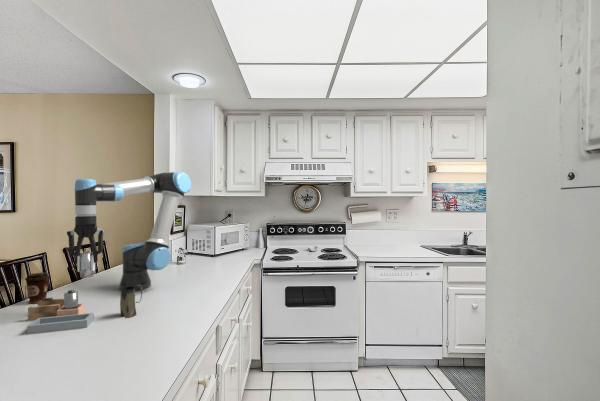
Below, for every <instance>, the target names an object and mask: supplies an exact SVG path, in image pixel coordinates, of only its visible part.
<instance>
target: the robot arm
mask: <svg viewBox="0 0 600 401" xmlns="http://www.w3.org/2000/svg"><path fill="white" fill-rule="evenodd" d="M191 188H192V181H191V179H190V176H189V175H188V174H187V173H186V172H184V171H174V172H172V171H171V172H170V171H169V172H160V173H156V174H152V175H145V176H144V177H143V178H137V179H130V180H129V179H127V180H121V181H113V182H107V183H106V182H104V183H97V180H96V179H91V178H78V179H76V180H75V182H74V205H75V206H74V215H75V217H74V222H75V223H74V226H75V227H74V229H72V230H69V231H66V234H67V236H68V251H69V252H68V254H69V255H70V256H74V264H77V265H76V266H77V272H78V273H80V253H81V250H82V246H83V241H84V240H85V239H84V238H87V239H88V240H89V244H90V249H91V252H93V255H91V271H93V272H94V271H95V270H96V263H98V262H99V261H98V255H99V254H102V253H103V252H104V251H103V248H104V244H103V243H104V234H105V232H106V231H105V229H100V228H98V226H97V216H96V215H97V202H113V203H114V202H120V201H121V200H122V199H124V197H126V196H131V195H137V194H143V193H146V194H154V193H155V194H162V199H161V202H160V205H159V208H158V212H157V215H156V218H155V221H154V224H153V227H152V231H151V234H150V237H149V239H147V240H145V242H140V243H133V244H127V245H124V246H123V247H122V251H121V252H122V253H121V254H122V275H121V278H120V282H119V286H118V287H119V288H118V289H119V290H120V291H121V289H122V288H125V287H135V291H139V290H140V291H141V287H140V286H136V285H141V286H142V290H144V289H147V288H148V289H149V287H151V286H152V280H151V278H150V275H149V272H148V270H150V271H160V270H161V271H162V270H163V269H164V268H166V267H167V266H168V265H169V263H170V261H171V258H172V254H171V251H170V249H169V248H170V246H169V243H168V241H169V237H170V235H171V234H170V233H171V230H172V226H173V223H174V221H175V216H176V213H177V210H178V206H179V203H180V200H183V199H184V196H185V194H186V193H188V192H189V191H191ZM96 233H97V235H98V236H97V244H96V241H95V240H96V239H95V234H96ZM75 234H76V235H77V242H76V246H75Z"/></svg>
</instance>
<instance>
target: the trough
mask: <svg viewBox="0 0 600 401" xmlns="http://www.w3.org/2000/svg"><path fill="white" fill-rule="evenodd" d="M94 321H95V312H87V313H86V312H85V314H75V315H65V316H54V317H44V318H38V319H36V320H34V321H31V323H29V324H28V325H27V326H26V328H27V329H26V330H27V335H31V334H32V335H33V334H41V333H49V332H58V331H67V330H77V329H78V330H79V329H87V328H88V327H89V326H90V325H91V324H92V323H93V322H94Z"/></svg>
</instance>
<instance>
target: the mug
mask: <svg viewBox="0 0 600 401" xmlns="http://www.w3.org/2000/svg"><path fill="white" fill-rule="evenodd" d="M136 286H140V287H141V289H140V300H139V301H136V290H135V287H125V288H122V289H121V290H120V297H119V298H120V301H119V305H120V306H119V307H120V309H119V310H120V316H121V317H124V318H125V319H130V318H134V317H135V316H137V309H136V303H137V304H140V302H141V301H142V298H143V297H142V296H143V289H142V286H141V285H136Z"/></svg>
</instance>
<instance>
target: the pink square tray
mask: <svg viewBox="0 0 600 401" xmlns="http://www.w3.org/2000/svg"><path fill="white" fill-rule="evenodd" d="M85 308H86V306H85V303H78V308H77V309H67V310H64V306H63V307H61V308H60V309H59V310H57V316H65V315H75V314H85V313H86V310H85Z"/></svg>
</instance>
